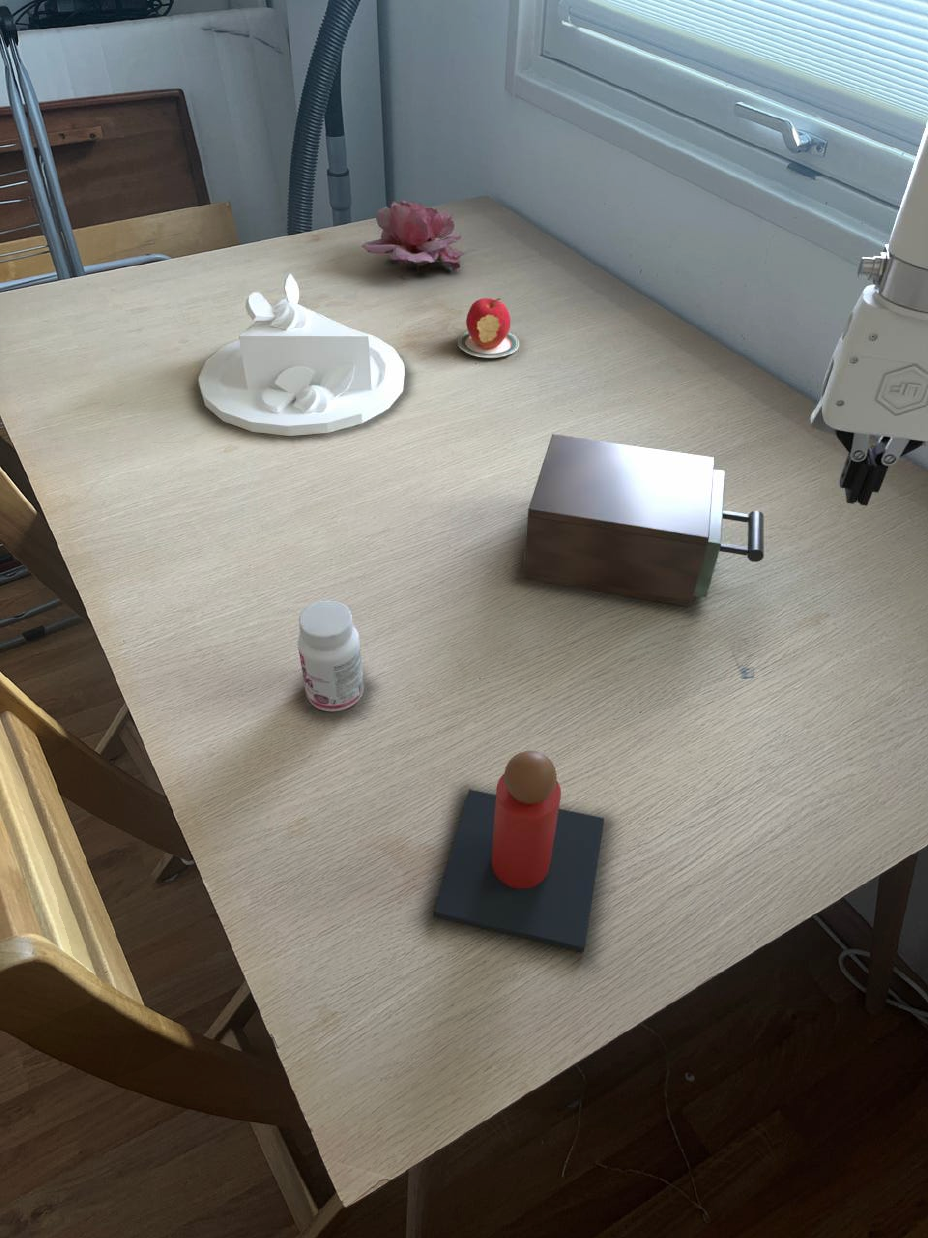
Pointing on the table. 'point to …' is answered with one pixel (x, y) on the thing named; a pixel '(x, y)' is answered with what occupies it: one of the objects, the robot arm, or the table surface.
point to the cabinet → (620, 519)
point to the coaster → (532, 912)
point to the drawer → (715, 535)
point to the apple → (488, 330)
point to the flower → (415, 235)
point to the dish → (299, 372)
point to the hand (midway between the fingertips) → (855, 494)
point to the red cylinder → (525, 820)
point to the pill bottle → (330, 656)
